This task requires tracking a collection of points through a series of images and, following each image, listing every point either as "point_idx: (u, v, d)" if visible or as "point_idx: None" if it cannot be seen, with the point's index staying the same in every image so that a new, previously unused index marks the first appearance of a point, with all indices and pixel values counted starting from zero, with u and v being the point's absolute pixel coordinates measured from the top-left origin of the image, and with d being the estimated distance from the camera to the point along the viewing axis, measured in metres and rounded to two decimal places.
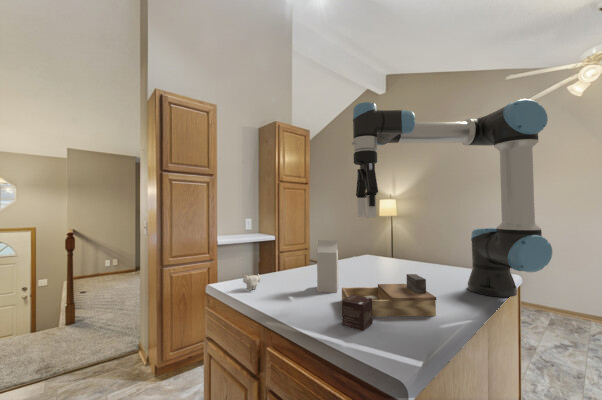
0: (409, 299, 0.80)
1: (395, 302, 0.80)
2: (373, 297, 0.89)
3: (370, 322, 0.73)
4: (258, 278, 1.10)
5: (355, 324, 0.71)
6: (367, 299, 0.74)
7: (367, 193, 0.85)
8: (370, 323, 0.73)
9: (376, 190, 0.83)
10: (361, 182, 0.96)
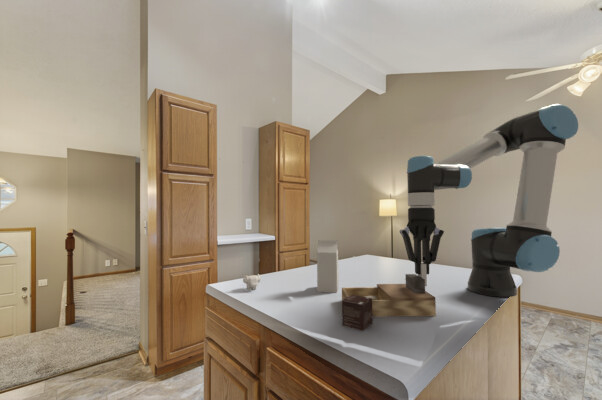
0: (408, 299, 0.80)
1: (395, 302, 0.80)
2: (373, 297, 0.89)
3: (370, 322, 0.73)
4: (258, 278, 1.10)
5: (355, 324, 0.71)
6: (367, 299, 0.74)
7: (414, 261, 0.89)
8: (370, 323, 0.73)
9: (411, 260, 0.86)
10: (422, 240, 0.88)
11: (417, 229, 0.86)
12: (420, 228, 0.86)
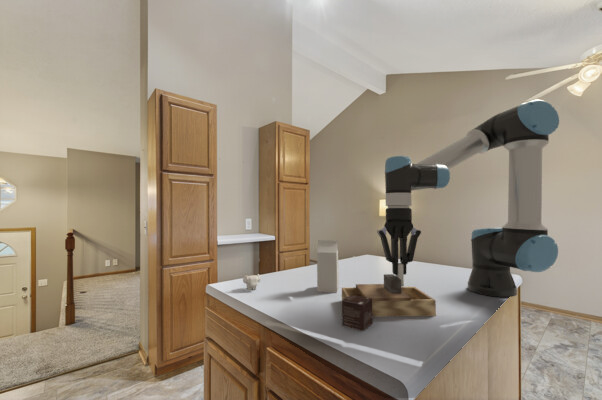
0: (383, 299, 0.79)
1: (395, 302, 0.80)
2: None
3: (370, 322, 0.73)
4: (258, 278, 1.10)
5: (355, 324, 0.71)
6: (367, 299, 0.74)
7: None
8: (370, 323, 0.73)
9: (388, 260, 0.86)
10: (400, 240, 0.88)
11: (394, 229, 0.86)
12: (397, 228, 0.86)
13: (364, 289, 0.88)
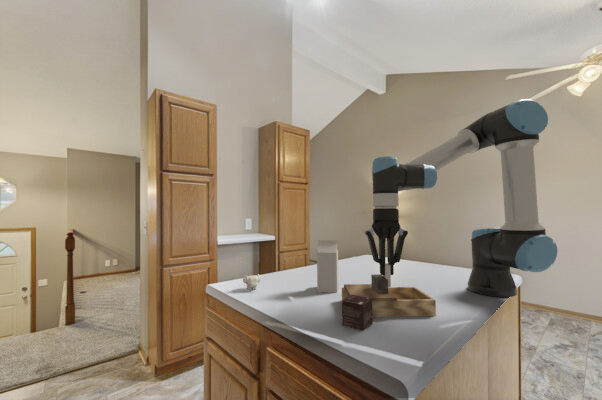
0: None
1: (395, 302, 0.80)
2: None
3: (370, 322, 0.73)
4: (258, 278, 1.10)
5: (355, 324, 0.71)
6: (367, 299, 0.74)
7: None
8: (370, 323, 0.73)
9: (375, 261, 0.86)
10: (387, 241, 0.88)
11: (381, 230, 0.86)
12: (384, 229, 0.86)
13: (351, 289, 0.88)
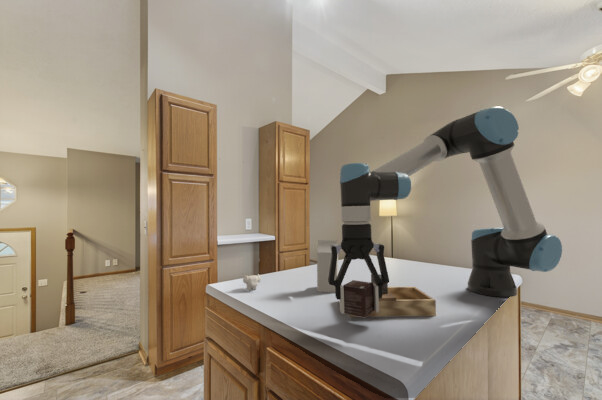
0: None
1: (395, 302, 0.80)
2: None
3: (371, 306, 0.74)
4: (258, 278, 1.10)
5: (357, 308, 0.71)
6: (368, 284, 0.74)
7: None
8: (372, 307, 0.74)
9: None
10: (365, 261, 0.75)
11: (350, 248, 0.73)
12: (354, 249, 0.73)
13: None
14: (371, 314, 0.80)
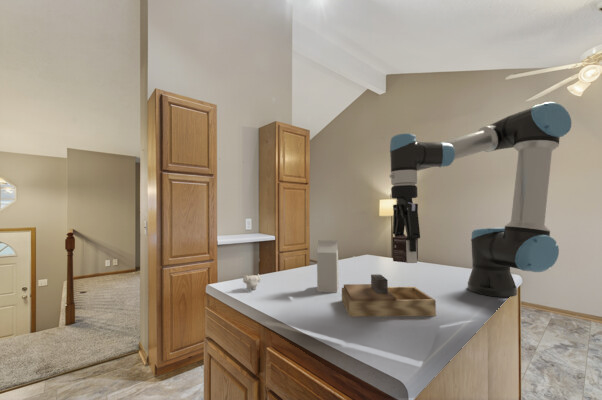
0: (369, 299, 0.79)
1: (395, 302, 0.80)
2: None
3: None
4: (258, 278, 1.10)
5: None
6: (403, 236, 0.90)
7: (408, 239, 0.82)
8: None
9: (418, 236, 0.80)
10: (399, 218, 0.90)
11: None
12: None
13: (351, 289, 0.88)
14: (371, 314, 0.80)
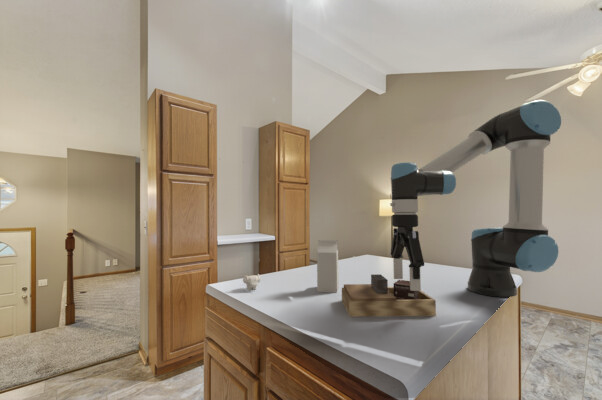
0: (369, 299, 0.79)
1: (395, 302, 0.80)
2: None
3: None
4: (258, 278, 1.10)
5: None
6: (404, 280, 0.90)
7: (411, 265, 0.79)
8: None
9: (422, 263, 0.77)
10: (399, 244, 0.91)
11: None
12: None
13: (351, 289, 0.88)
14: (371, 314, 0.80)
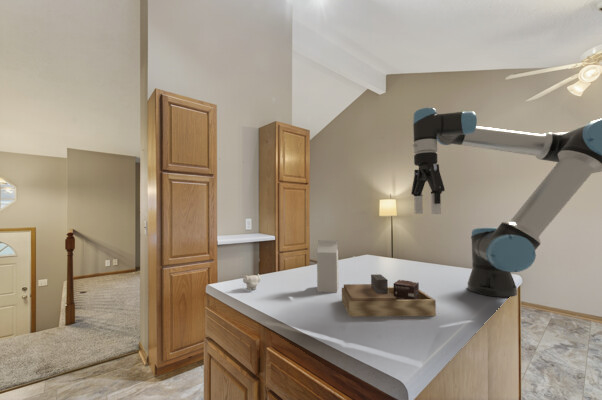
0: (369, 299, 0.79)
1: (395, 302, 0.80)
2: None
3: None
4: (258, 278, 1.10)
5: None
6: (404, 280, 0.90)
7: (433, 191, 0.92)
8: None
9: (443, 189, 0.91)
10: (420, 181, 1.04)
11: None
12: None
13: (351, 289, 0.88)
14: (371, 314, 0.80)
